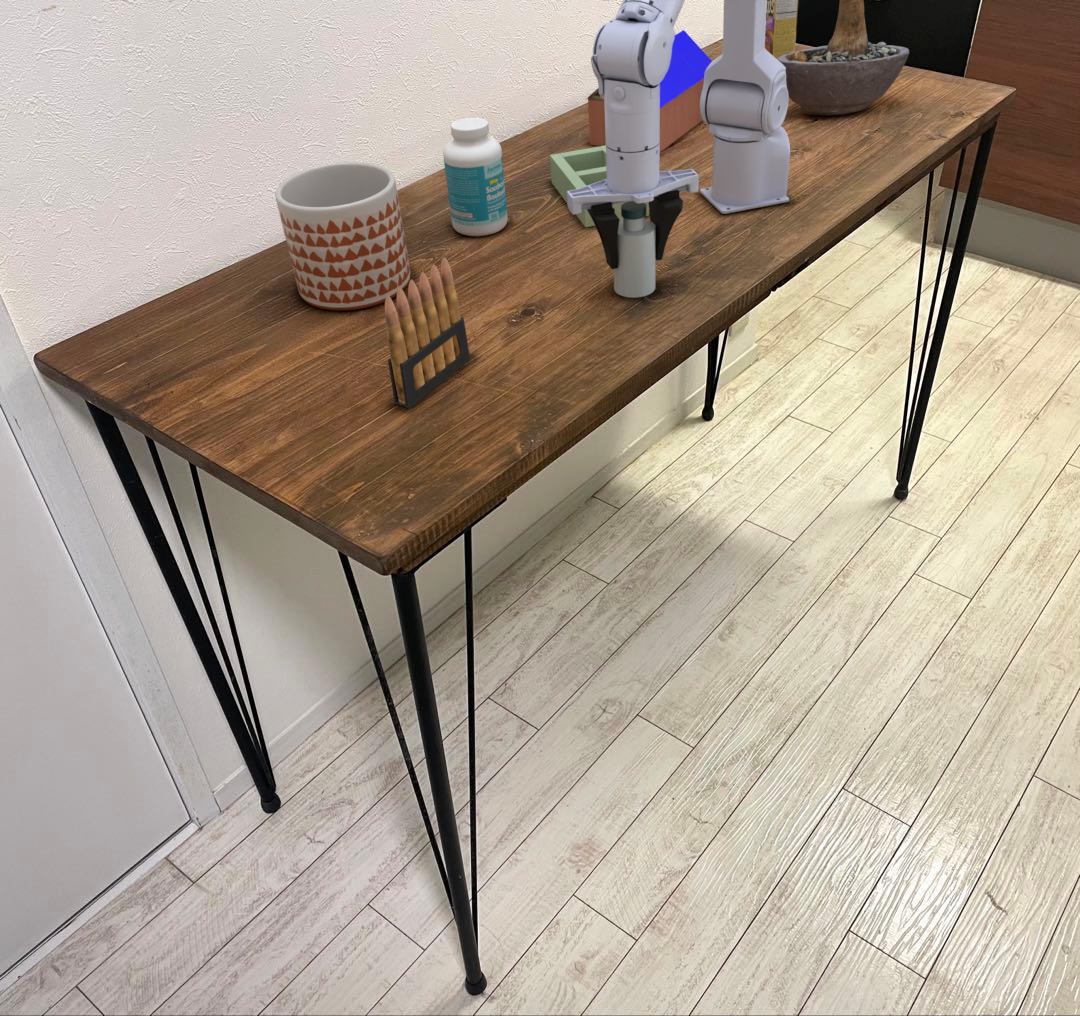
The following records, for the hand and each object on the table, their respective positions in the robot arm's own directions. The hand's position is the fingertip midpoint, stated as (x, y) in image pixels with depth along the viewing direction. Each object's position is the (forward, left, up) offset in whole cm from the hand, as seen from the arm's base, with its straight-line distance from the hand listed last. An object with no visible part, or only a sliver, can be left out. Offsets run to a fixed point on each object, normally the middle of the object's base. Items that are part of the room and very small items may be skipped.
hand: (634, 260), depth 117 cm
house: (-20, -48, -4) cm, 52 cm away
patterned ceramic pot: (+31, -14, -4) cm, 34 cm away
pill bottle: (+13, -24, -4) cm, 28 cm away
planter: (-48, -42, -4) cm, 64 cm away
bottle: (0, 0, -3) cm, 3 cm away
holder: (-4, -26, -3) cm, 27 cm away
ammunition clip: (+26, +11, -4) cm, 28 cm away
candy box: (-50, -68, -4) cm, 84 cm away
